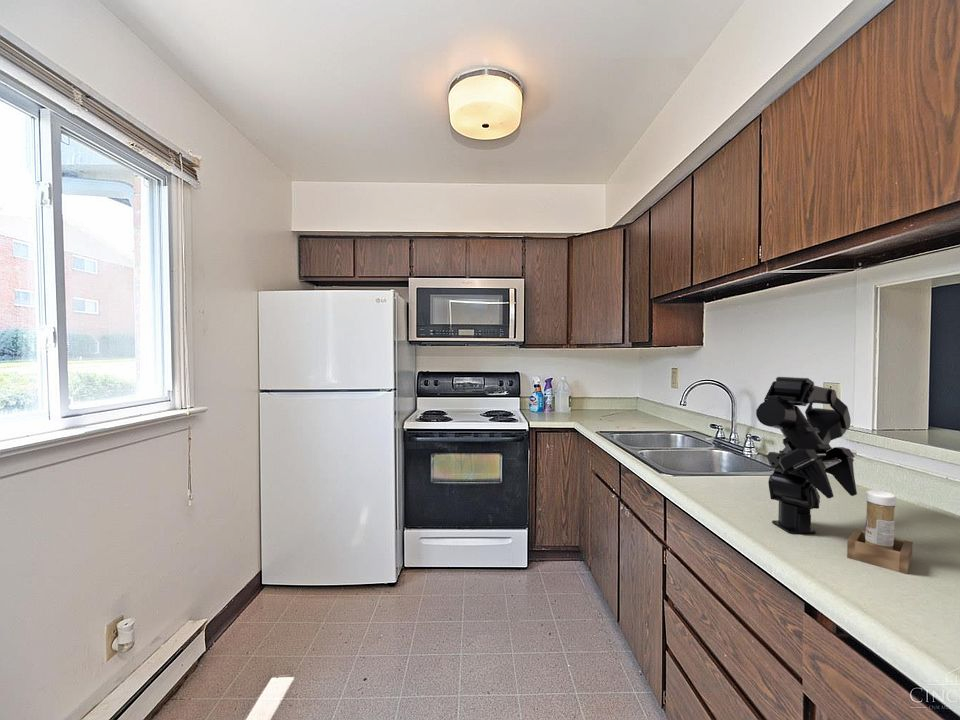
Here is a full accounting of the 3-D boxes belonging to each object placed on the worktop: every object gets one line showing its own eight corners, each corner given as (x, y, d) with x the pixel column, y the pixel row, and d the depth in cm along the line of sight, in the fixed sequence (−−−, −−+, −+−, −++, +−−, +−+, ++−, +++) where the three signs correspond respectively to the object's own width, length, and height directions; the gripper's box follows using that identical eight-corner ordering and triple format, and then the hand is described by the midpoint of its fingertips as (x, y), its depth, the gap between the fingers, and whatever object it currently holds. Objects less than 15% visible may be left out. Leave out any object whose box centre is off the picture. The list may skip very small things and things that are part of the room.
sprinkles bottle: (860, 551, 95) (862, 488, 94) (887, 555, 93) (890, 491, 92) (869, 560, 90) (871, 494, 90) (898, 565, 89) (900, 497, 88)
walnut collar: (847, 557, 92) (847, 540, 92) (855, 544, 98) (855, 528, 98) (907, 574, 85) (908, 555, 85) (912, 559, 91) (912, 542, 91)
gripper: (789, 446, 112) (830, 507, 103) (742, 446, 103) (782, 513, 94) (831, 423, 104) (880, 488, 95) (784, 422, 95) (833, 493, 87)
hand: (842, 496), depth 93 cm, fingers open, 9 cm apart
